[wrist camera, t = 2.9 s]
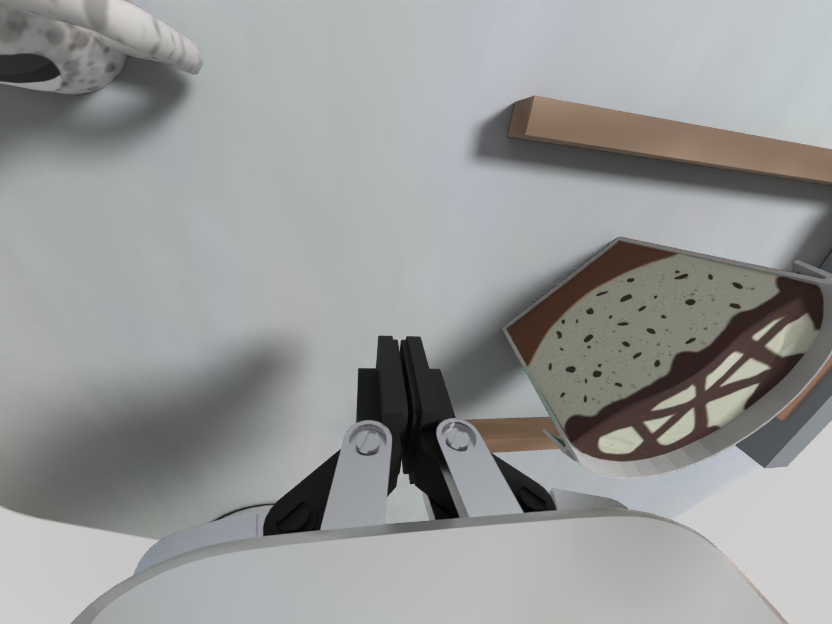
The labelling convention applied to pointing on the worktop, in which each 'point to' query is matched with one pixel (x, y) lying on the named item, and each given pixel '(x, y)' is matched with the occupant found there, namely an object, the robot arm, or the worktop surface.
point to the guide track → (650, 141)
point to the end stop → (794, 419)
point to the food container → (670, 354)
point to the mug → (83, 43)
